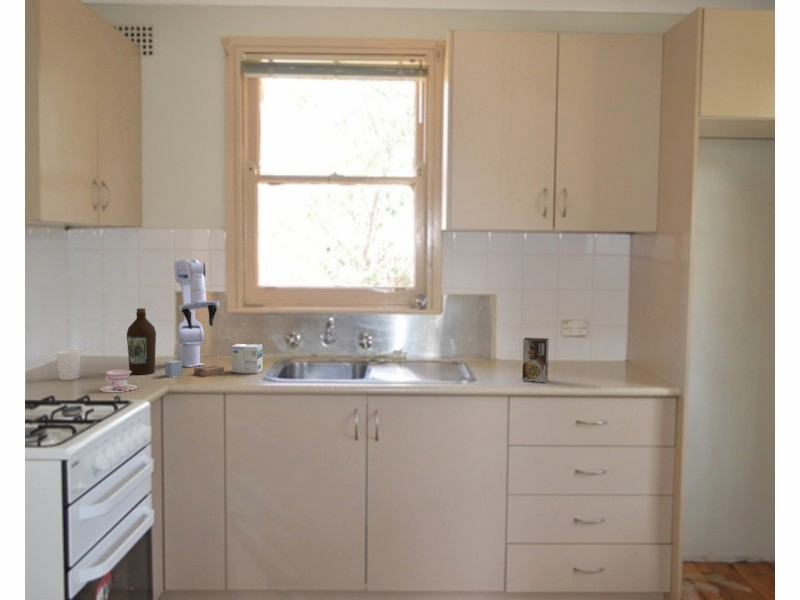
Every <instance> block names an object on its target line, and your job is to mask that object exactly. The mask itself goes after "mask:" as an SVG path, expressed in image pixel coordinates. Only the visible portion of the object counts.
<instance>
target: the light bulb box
mask: <svg viewBox="0 0 800 600" xmlns="http://www.w3.org/2000/svg"><path fill="white" fill-rule="evenodd" d="M262 371H263V344H259V343H258V344H254V343H253V344H250V343H244V344H243V343H236V344H234V345H232V346H231V373H232V372H239V373H238V374H259V373H261V372H262Z"/></svg>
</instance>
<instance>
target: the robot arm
mask: <svg viewBox="0 0 800 600" xmlns="http://www.w3.org/2000/svg"><path fill="white" fill-rule="evenodd" d="M173 265H174V266H173V267H174V280H175V282H176V283H178V284H179V286H180V289H181V296H182V305H181V304H180V305H178V309H179V311H180V312H181V313H183V321H182V322H180V323H179V324H178V325H177V342H178V343H179V345H178V346H177V349H176V355H177V357H176V360H177V361H182V367H186V368H191V367H192V368H194V367H200V366H205V363H202V362H201V352H200V351H201V344H202V343H203V342H204V339H205V338H204V337H205V336H204V334H205V333H204V332H205V331H204V329H203V324H202V322H200V321H198V320H197V319H196V313H195V312H196V311H195V310H198V309H206V308H207V310H208V317H209V318H208V319H209V320H208V322H209V326H210V327H212V326H213V323H214V318H215V315H216V313H217V310H218V309H217V307H220V302H219V300H207V289H206V275H207V273H206V272H207V268H206V264H205V262H200V261H199V260H198V259H195V258H192V259H176V260H175V261H174V264H173ZM199 365H200V366H199Z"/></svg>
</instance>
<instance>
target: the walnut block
mask: <svg viewBox="0 0 800 600" xmlns="http://www.w3.org/2000/svg"><path fill="white" fill-rule="evenodd" d="M222 373H224V374H225V369H224V367H223V366H219V365H214V364H209V365H200V366H193V375H195V374H198V375H197V376H200V375H203V376H202V377H204V376H209V377H212V376H211V375H215V376H218V375H217V374H221V375H223V374H222Z"/></svg>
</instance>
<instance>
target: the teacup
mask: <svg viewBox="0 0 800 600" xmlns="http://www.w3.org/2000/svg"><path fill="white" fill-rule="evenodd" d="M131 372H132V371H130V370H129V369H114V370H108V371H106V372H105V377H106V378H105V379H106V380H107V382H108V383H109V384H110V385H105V386H102V387H100V388H99V391H101V392H103V393H113V394H114V393H126V392H130V391H129V390H126V392H125V391H118V390H121V389H123V390H125V389H126V388H125V387H126V386H132V387H135V388H134V389H135V390H137V389H138V386H137V385H135V384H129V383H128V380H129V376H130V375H132V374H131ZM111 388H112V389H111ZM136 388H137V389H136ZM106 389H108V390H110V391H104V390H106ZM134 389H131V390H132V391H134Z"/></svg>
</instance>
